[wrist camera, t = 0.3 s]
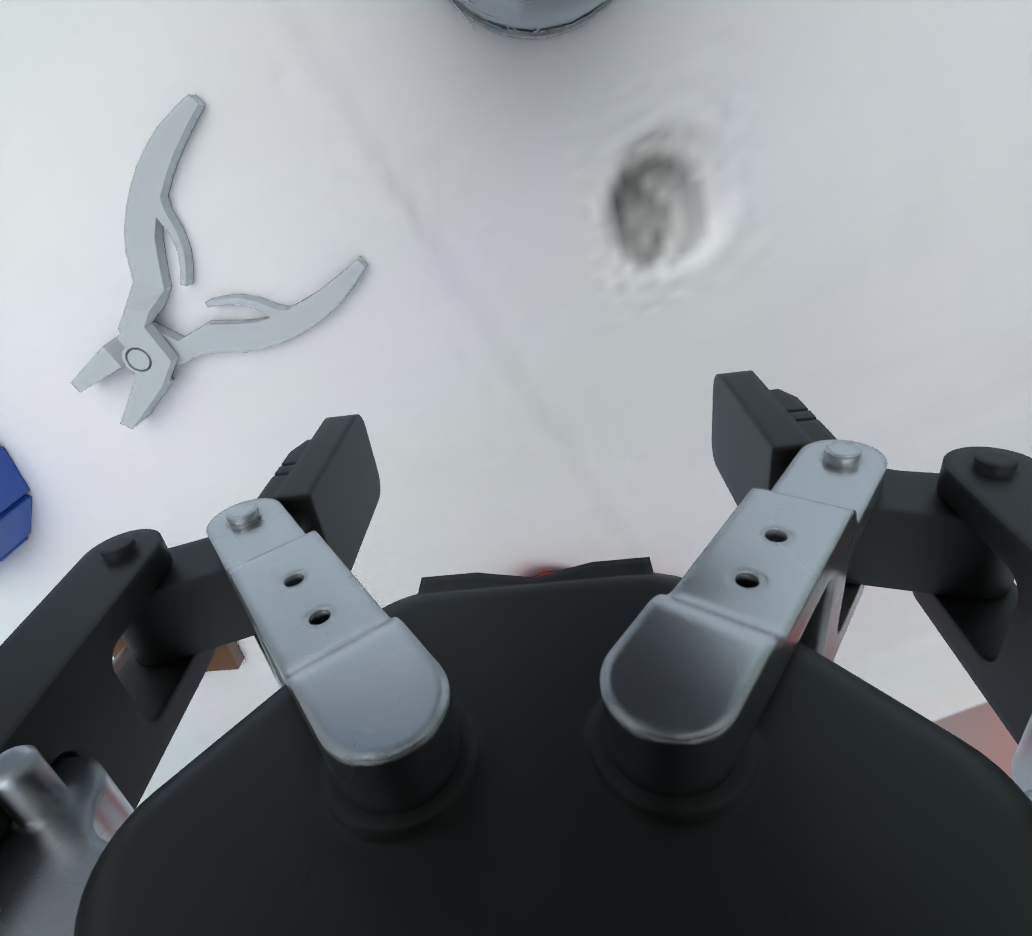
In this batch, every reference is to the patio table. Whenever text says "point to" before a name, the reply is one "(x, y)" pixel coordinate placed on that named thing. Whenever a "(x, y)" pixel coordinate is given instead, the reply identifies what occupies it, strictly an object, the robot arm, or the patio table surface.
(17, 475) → the ring
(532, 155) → the patio table surface
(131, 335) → the pliers
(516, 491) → the patio table surface
